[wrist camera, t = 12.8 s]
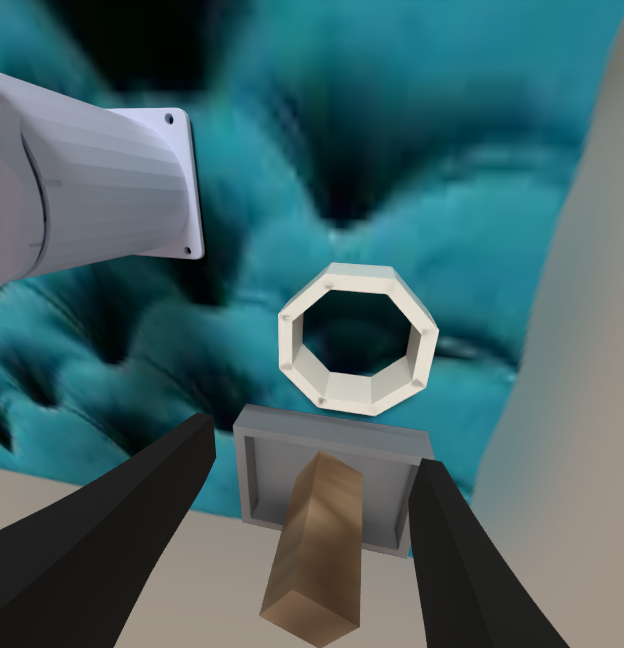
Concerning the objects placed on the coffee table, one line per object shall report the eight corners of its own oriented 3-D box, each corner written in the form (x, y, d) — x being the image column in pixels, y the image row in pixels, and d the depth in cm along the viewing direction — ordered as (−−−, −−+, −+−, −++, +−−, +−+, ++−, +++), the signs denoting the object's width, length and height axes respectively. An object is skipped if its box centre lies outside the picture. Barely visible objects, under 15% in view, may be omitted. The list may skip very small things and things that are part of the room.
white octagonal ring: (290, 376, 21) (279, 401, 19) (291, 259, 18) (277, 270, 15) (411, 392, 20) (417, 422, 17) (437, 269, 16) (450, 283, 14)
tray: (253, 495, 27) (242, 522, 25) (246, 403, 23) (233, 425, 21) (403, 526, 25) (406, 558, 23) (427, 431, 21) (434, 459, 19)
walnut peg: (296, 476, 24) (259, 615, 16) (320, 449, 22) (292, 589, 14) (336, 499, 24) (319, 648, 16) (363, 474, 23) (359, 626, 15)
